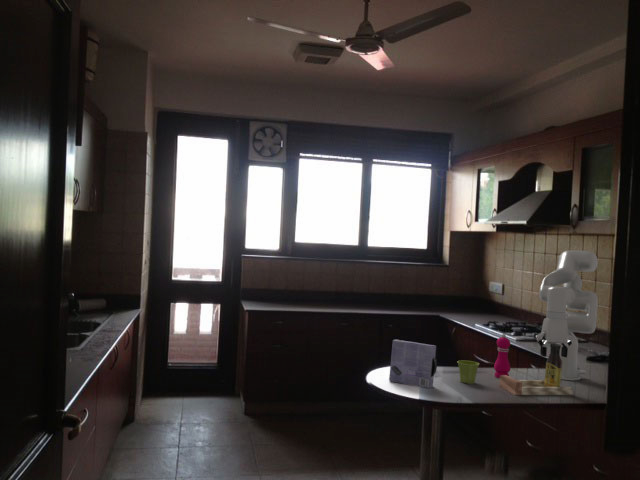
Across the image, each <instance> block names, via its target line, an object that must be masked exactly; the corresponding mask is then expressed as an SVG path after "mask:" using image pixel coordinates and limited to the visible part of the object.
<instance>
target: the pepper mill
mask: <svg viewBox="0 0 640 480" xmlns="http://www.w3.org/2000/svg"><path fill="white" fill-rule="evenodd" d="M496 345H497V351H498V353H497V354H498V355H497V358H496V360H495V362H494V366H493V369H494V371H495V372H494V377H495V378H497V379H500V375H507V376H509V377H510V373H509V372H510V371H511V365H510V362H509V359H508V354H509V351H510V349H509V348H510V346H511V341H510V339H509V338H507V335H506V334H504V333H503V334H502V335H501V337H499V338H497V340H496Z"/></svg>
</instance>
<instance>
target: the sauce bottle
mask: <svg viewBox="0 0 640 480" xmlns="http://www.w3.org/2000/svg"><path fill="white" fill-rule="evenodd" d="M549 347H550V352H549V355H548V357H547V360H546V362H545V372H544V373H545V374H544V380H545V383H544V387H561V381H562V379H561V370H562V368H561V367H562V360H561V358H560V348H561V345H559V344H556V343H550V346H549Z"/></svg>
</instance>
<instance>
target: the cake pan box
mask: <svg viewBox="0 0 640 480" xmlns="http://www.w3.org/2000/svg"><path fill="white" fill-rule="evenodd" d="M391 345H392V347H391V356H390V368H389V378H388V380H389V382H392V383H398V384H404V385H407V386H415V387H421V388H426V389H431V388H433V387H432V386H434V378H435V375H436V372H437V369H438V368H437V367H438V362H437V358H436V354H437V353H436V352H437V345H434V344H426V343H421V342H420V343H419V342H416V341H415V342H414V341H406V340H400V339H393V340H392V344H391Z"/></svg>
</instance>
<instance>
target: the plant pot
mask: <svg viewBox="0 0 640 480" xmlns="http://www.w3.org/2000/svg"><path fill="white" fill-rule="evenodd" d="M456 363H457V365H458V368H459V371H458V372H459V381H460V382H461V383H463V384H464V383H466V384H468V385H469V384H471V385H473V384H475V383H476V378H477V371H478V368H479V365H480V363H479V362H476V361H472V360H458V361H456Z"/></svg>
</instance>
